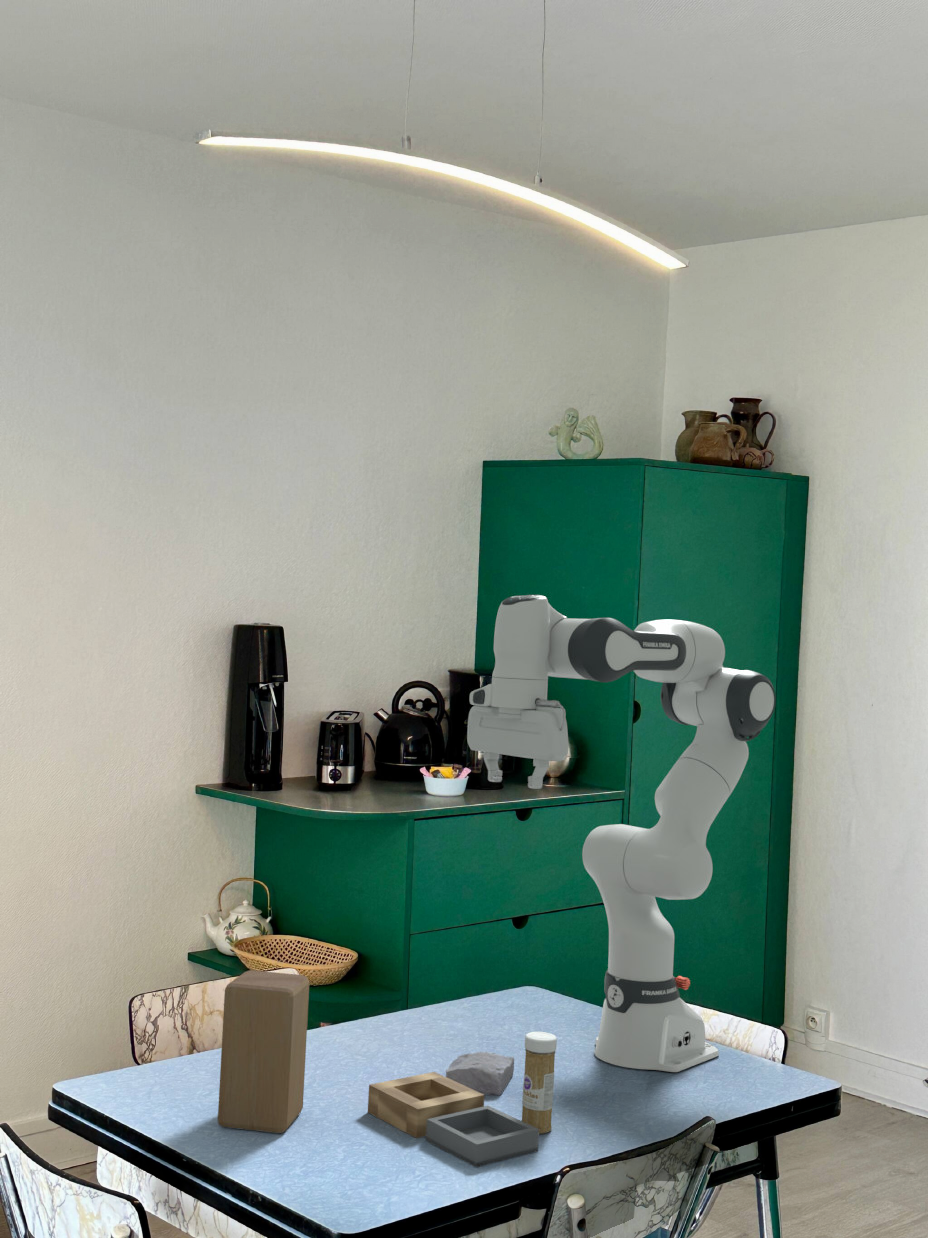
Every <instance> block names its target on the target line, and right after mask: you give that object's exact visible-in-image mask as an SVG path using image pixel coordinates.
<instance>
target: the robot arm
mask: <svg viewBox="0 0 928 1238" xmlns="http://www.w3.org/2000/svg"><path fill="white" fill-rule="evenodd" d="M494 626H495V627H494V636H493V653H494V658H495V662H494V667H493V668H494V669H493V671H492V677H491V683H489V684H487V685H485V686H483V687H480V688H477V689H474V690H473V691H471V692H470V693H469V704H470V705H473V706H472V707H471V708H470V709H469V712H468V718H467V732H466V734H467V735H466V739H467V744H468V747H469V748H470V751H475V752H483V762H484V763H485V766H486V769H487V780H488V781H489V782H492V783H502V781H503V777H502V776H503V770H500V767H499V764H498V760H499V759H500V755H505V756H511V757H518V758H525V759H533V760H532V761H533V762H532V764H533V765H532V766H533V767H535V768H534V770H533V773H532V775H530V776H527V782H528V783H527V787H528V788H530V789H533V790H534V789H535V790H536V789H537V790H539V789H542V788H543V780H544V777H545V776H546V774H547V771H548V769H549V768H550V762H563V761H565V760H566V758H567V756H568V755H569V734H568V733H569V732H568V722H567V719H566V715H567V714H566V709H565V708H564V706H563V705H562V704H561V702H560V701H559V700H555V699H552V700H549V699H548V686H549V684H548V682H549V677H552V678H553V677H554V678H564V679H565V678H566V679H575V680H576V679H577V680H589V681H594V682H601V683H611V682H614V681H617V680H618V679H620V678H622V677H623V676H626V675H627V674H628V673H631V672H634V673H635V675H636V676H638V677H639V678H641V679H644V680H646V681H647V680H648V681H651V682H655V683H662V685H661V688H660V689H661V690H660V703H661V706H662V709H663V712H664V714H665V715H666V716H667V718H668V719H670V720H671V721H672V722H673V721H674V722H676V723H679V724H681V725H683V726H695V727H696V732H695V736H694V738H693V740H692V742H691V743H689V744H690V745H688V746H687V748H686V749H685V750H684V751H683V752H682V754H681V755H680V756H679V757H678V759H677V760H676V762H675V763H674V764H673V766H672V767H671V769H670V770H669V771H668V773H667V775H666V776H665V777H664V778H663V780H662V781H661V782H660V784H659V786H658V787H657V788H656V790H655V792H654V793H655V794H654V805H655V808H656V811H657V813H658V814H659V816H660V817H659V820H658V822H657V823H656V824H655V825H654V826H653V827H651V828H645V827H640V826H633V825H630V824H623V823H619V824H616V823H615V824H605V825H599V826H597V827H595V828H594V829H592V830H591V831H590V832H589V834H588V835H587V836H586V838H585V841H584V844H583V846H582V855H581V856H582V858H581V859H582V863H583V866H584V870H585V871H586V872H587V873H588V874H589V876H590V877H591V879H592V880H593V881H594V882H595V884H596V886H597V889H598V891H599V893H600V897H601V899H602V902H603V904H604V908H605V910H604V911H605V913H606V918H607V925H608V962H607V963H608V964H607V967H608V968H607V970H606V971H605V976H604V987H603V988H604V990H603V991H604V993H605V994H604V995H605V998H604V1000H603V1005H602V1011H601V1016H600V1017H601V1018H600V1024H599V1031H598V1036H597V1037H596V1038H595V1043H594V1045H595V1048H594V1051H593V1053H594V1055H595V1057H597V1058H598V1059H600V1060H601V1061H604V1062H605V1063H608V1064H611V1065H613V1066H614V1065H615V1066H619V1067H623V1068H630V1069H638V1070H652V1071H654V1070H655V1071H663V1072H670V1073H678V1072H681V1071H684V1070H686V1069H689V1068H691V1067H693V1066H696V1065H698V1064H701V1063H704V1062H706V1061H709V1060H711V1059H714V1058H716V1057H718V1056H719V1055H720V1053H719V1052H720V1051H719V1049H718V1048H717V1047H716V1046H715V1045H713V1044H711V1043H709V1042H706V1028H705V1022H704V1020H703V1018H702V1017H701V1015H699V1013H697V1012H696V1011H695V1010H694V1009H693V1008H692V1007H690V1006H689V1005H688V1003H686V1002H685V1001H684V1000H683V999H682V998H681V997H680V991H679V989H681V990H685V991H687V990H688V989H689V987H690V986H691V980H690V978H688V977H684V976H682V975H678V976H677V977H675V976H674V975H673V974H674V960H675V959H674V957H675V956H674V955H675V938H676V937H675V932H674V928H673V927H672V925H671V924H670V922H669V921H668V920H667V919H666V918H665V917H664V915H663V913H662V912H661V910H660V908H659V906H658V903H657V900H656V898H661V899H665V900H667V901H668V900H669V901H671V900H674V901H675V900H676V901H679V900H681V901H682V900H694V899H697V898H698V897H700V896H702V894H704V892H705V891H706V890H707V889H708V887H709V885H710V883H711V880H712V876H713V860H712V856H711V853H710V851H709V850H708V848H707V845H706V844H707V837H708V836H707V835H708V833H709V830H710V827H711V825H712V824H713V822H714V821H715V819H716V817H717V816H718V814H719V812H721V810H722V808H723V806H724V804H725V803H726V802H727V800H728V798H729V797H730V796H731V795H732V794H733V791H734V789H735V788H736V786H737V784H738V782H739V781H740V778H741V777H742V774H743V771H744V769H745V768H746V765H747V764H748V763H747V762H748V760H749V756H750V755H749V754H750V752H749V751H750V750H749V746H748V743H747V742H749V741H752V740H754V739H755V738H756V737H758V736H759V735H760V733H761V731H762V730H763V729H764V728H765V727H766V726H767V725H768V722H769V721H770V719H771V718H772V716H773V714H774V711H775V708H776V703H777V702H776V699H777V697H776V693H775V692H776V691H775V689H774V686H773V684H772V681H771V680H770V679H769V678H768V676H766V675H764V674H761V673H760V672H758V671H757V672H756V671H754V670H750V669H744V670H743V669H741V670H740V669H737V668H736V669H735V668H730V667H724V665H723V663H724V661H725V657H726V647H725V644H724V643H725V642H724V641H723V639H722V636H721V635H720V634H719V633H718V632H717V631H715V630H714V629H713V628H711V627H708V626H706V625H704V624H701V623H697V622H694V621H688V620H681V619H655V620H649V621H644V622H642V623H639V624H638V625H637V626H636V628H635V629H634V630H633V629H631V628H629V627H628V626H626V625H625V624H624V623H622V622H621V621H619V620H617V619H615V618H612V617H597V618H570V617H569V618H568V617H567V616H565V615H563V614H562V613H560V612H558V611H557V610H556V609H555V608H553V606H552V605H551V604H550V603H549V600H548V598H547V597H546V596H544V595H542V594H541V595H540V594H525V595H522V594H521V595H514V596H509V597H507V598H505V599H504V600H502V601H501V603H500V605H499V607H498V610H497V615H496V619H495V624H494Z"/></svg>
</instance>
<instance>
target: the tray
mask: <svg viewBox="0 0 928 1238" xmlns="http://www.w3.org/2000/svg"><path fill="white" fill-rule="evenodd" d="M539 1136H540V1134H539V1129H537V1128H535V1127H533V1126H531V1125H529V1124H527V1123H525V1122H522V1120H521V1119H518V1118H516V1117H515V1116H511V1115H509V1114H507V1113H505V1112H503V1111H501V1110H499V1109H496V1108H494V1107H493V1106H491V1105H484V1106H483V1107H479V1108H475V1109H470V1110H466V1111H461V1112H457V1113H452V1114H448V1115H443V1116H439V1117H434V1118H430V1119H427V1129H426V1136H425V1141H426V1142H428V1143H429V1144H431V1145H433V1146H434V1147H437V1148H439V1149H441V1150H442V1151H444V1152H446V1153H448V1154H450V1155H452V1156H453V1157H456V1158H458V1159H460V1160H461V1161H462V1162H465V1163H467V1164H468V1165H470V1166H473V1167H475V1168H479V1167H482V1166H486V1165H490V1164H494V1163H498V1162H503V1161H506V1160H511V1159H513V1158H517V1157H521V1156H525V1155H529V1154H532V1153H533V1154H534V1153H536V1152H539V1141H540V1140H539Z"/></svg>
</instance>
